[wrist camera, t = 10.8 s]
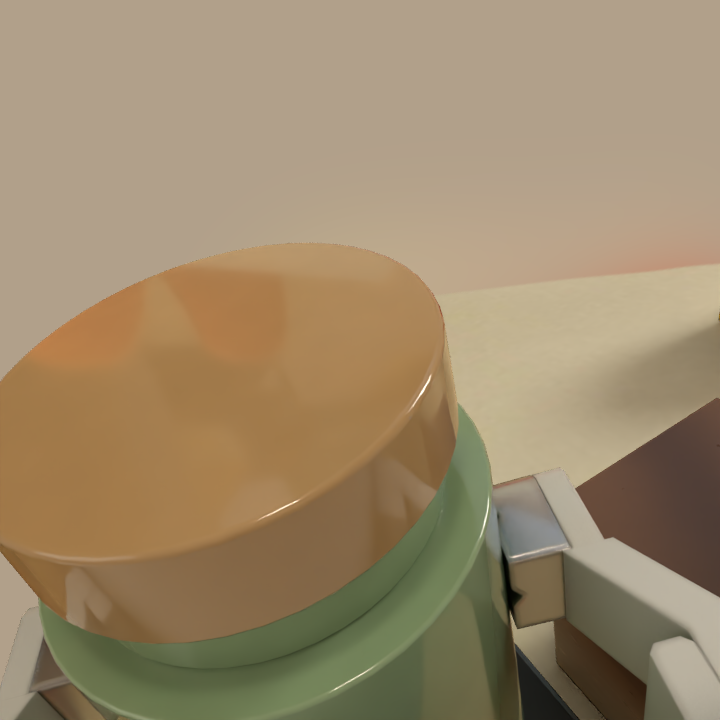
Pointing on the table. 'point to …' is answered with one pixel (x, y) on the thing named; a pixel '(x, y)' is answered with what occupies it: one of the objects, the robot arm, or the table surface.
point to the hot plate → (539, 694)
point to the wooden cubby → (651, 539)
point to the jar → (260, 498)
